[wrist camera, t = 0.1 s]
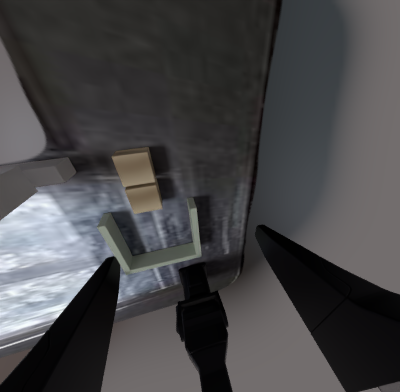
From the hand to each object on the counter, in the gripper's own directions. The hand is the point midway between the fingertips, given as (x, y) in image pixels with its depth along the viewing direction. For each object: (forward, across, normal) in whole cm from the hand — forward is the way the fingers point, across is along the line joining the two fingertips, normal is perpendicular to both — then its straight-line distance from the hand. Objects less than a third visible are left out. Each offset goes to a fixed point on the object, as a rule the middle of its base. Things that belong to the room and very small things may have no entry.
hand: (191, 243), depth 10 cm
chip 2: (+15, +5, +4) cm, 16 cm away
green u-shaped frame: (+15, +5, +12) cm, 19 cm away
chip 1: (+15, +5, 0) cm, 16 cm away
